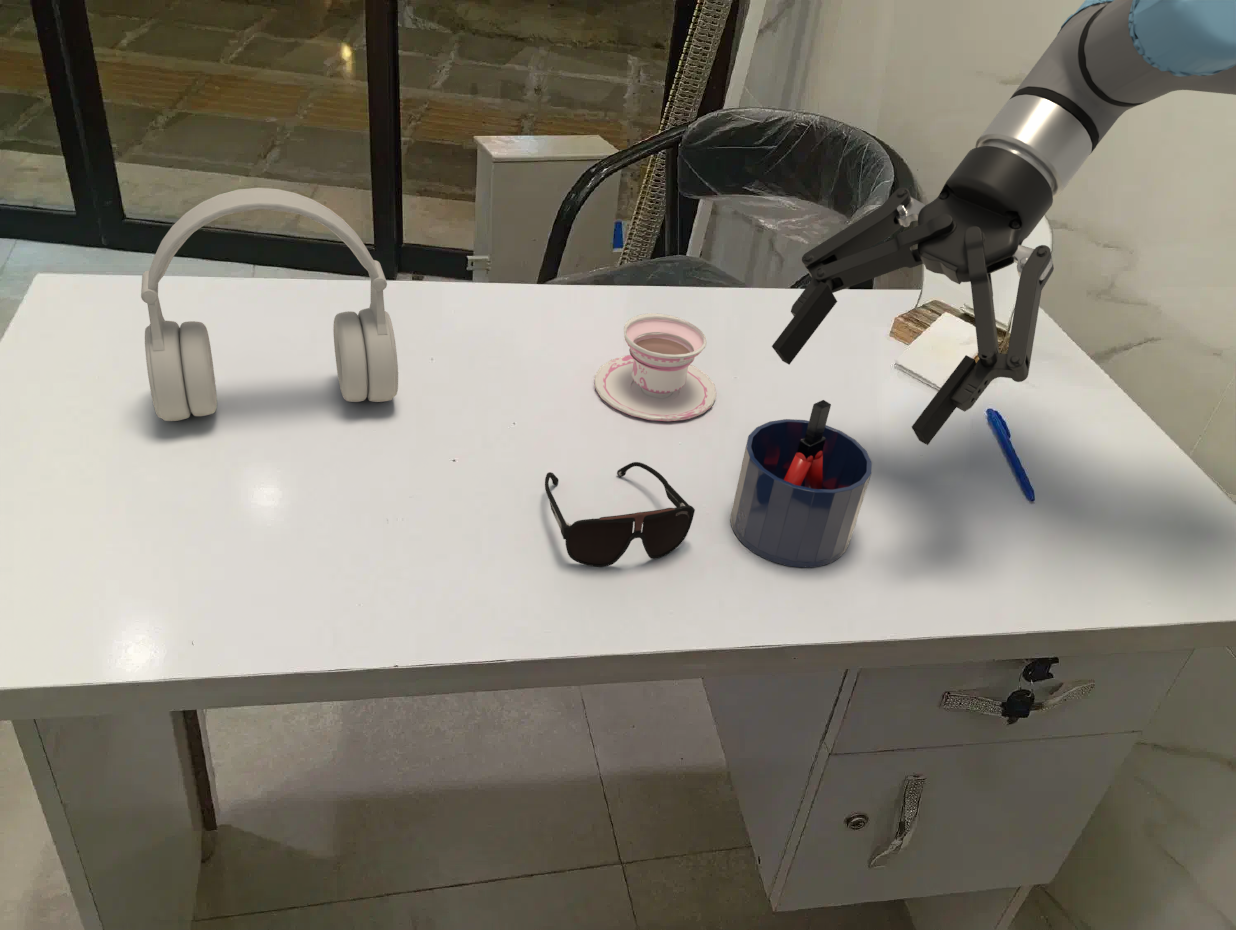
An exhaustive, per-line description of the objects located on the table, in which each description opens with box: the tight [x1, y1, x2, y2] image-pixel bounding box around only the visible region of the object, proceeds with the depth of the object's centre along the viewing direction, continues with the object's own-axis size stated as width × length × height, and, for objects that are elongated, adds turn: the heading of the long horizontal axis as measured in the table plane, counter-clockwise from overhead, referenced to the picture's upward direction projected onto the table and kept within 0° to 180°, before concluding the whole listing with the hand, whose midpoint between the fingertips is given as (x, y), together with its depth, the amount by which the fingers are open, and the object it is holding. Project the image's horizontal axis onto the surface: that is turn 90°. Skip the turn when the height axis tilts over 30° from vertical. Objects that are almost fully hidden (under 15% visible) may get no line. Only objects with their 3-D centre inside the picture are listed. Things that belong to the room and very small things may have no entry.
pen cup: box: [730, 418, 873, 568], centre depth 80 cm, size 10×10×8 cm
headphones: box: [140, 187, 399, 422], centre depth 83 cm, size 20×8×19 cm, turn 109°
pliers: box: [784, 399, 832, 489], centre depth 78 cm, size 3×7×12 cm, turn 131°
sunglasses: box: [544, 461, 696, 568], centre depth 79 cm, size 10×12×5 cm
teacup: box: [594, 312, 717, 422], centre depth 96 cm, size 12×12×6 cm
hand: (846, 394), depth 76 cm, fingers open, 13 cm apart
